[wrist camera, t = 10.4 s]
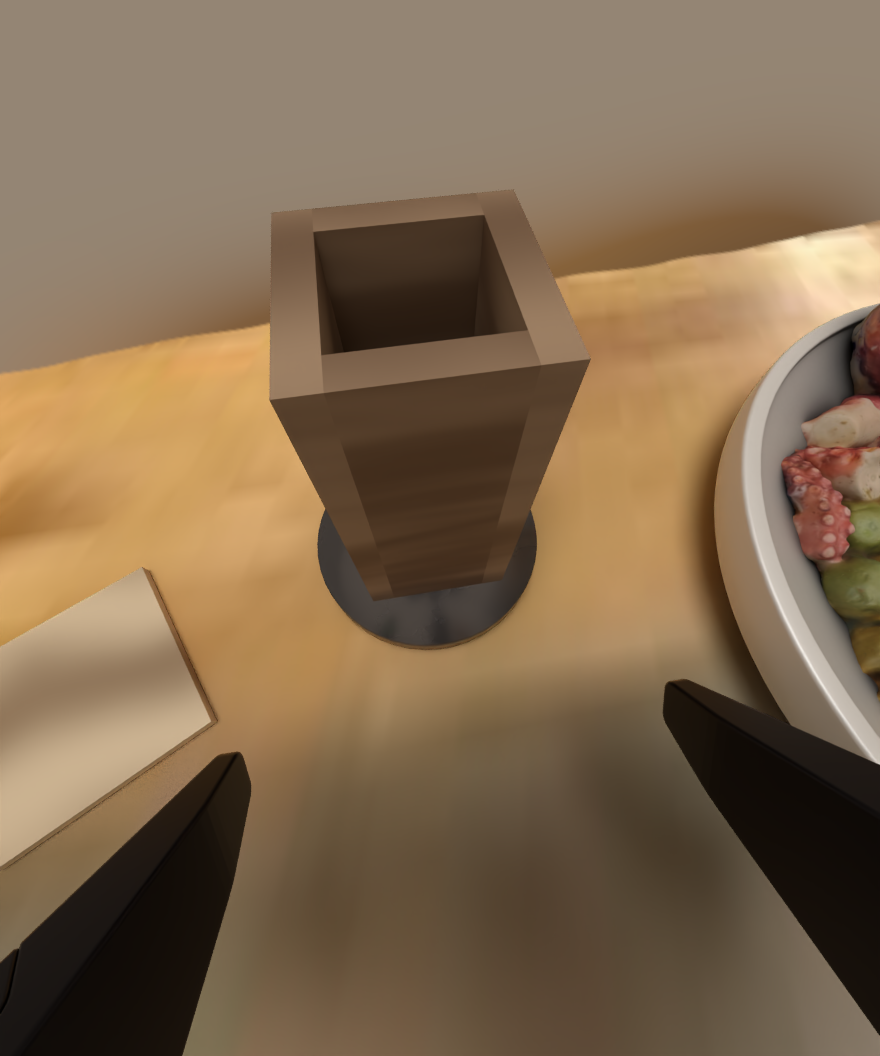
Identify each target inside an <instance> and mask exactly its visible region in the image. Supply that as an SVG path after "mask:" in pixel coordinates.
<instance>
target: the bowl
mask: <svg viewBox="0 0 880 1056" xmlns="http://www.w3.org/2000/svg"><path fill="white" fill-rule="evenodd" d="M714 521H715V535H716V545H717V552H718V558H719V563H720V569H721V573H722V577H723V581H724V585H725V589H726V592H727V595H728V598H729V601H730V605H731V608H732V611H733V613H734V616H735V619H736V621H737V624H738V626H739V629H740V632H741V634H742V636H743V639H744V641H745V643H746V645H747V647H748V650H749V652H750V654H751V656H752V658H753V660H754V662H755V664H756V666H757V668H758V670H759V672H760V674H761V676H762V678H763V680H764V682H765V683H766V685H767V687H768V689H769V690H770V692H771V694H772V696H773V697H774V699H775V701H776V702H777V704H778V706H779V708H780V709H781V711H782V712H783V714H784V715H785V717H786V718H787V720H788V721H789V723H790V725H791V726H794V727H796V728H798V729H800V730H803V731H805V732H807V733H809V734H812V735H814V736H816V737H818V738H821V739H823V740H825V741H827V742H830V743H832V744H834V745H837V746H839V747H841V748H843V749H846V750H848V751H850V752H852V753H855V754H857V755H859V756H861V757H864V758H866V759H868V760H870V761H873V762H875V763H877V764H879V765H880V304H876V305H872V306H868V307H865V308H861V309H858V310H855V311H852V312H849V313H847V314H844V315H842V316H839V317H837V318H835V319H832V320H830V321H829V322H827V323H825V324H823V325H821V326H819V327H817V328H816V329H814V330H813V331H811V332H809V333H808V334H806V335H805V336H804V337H802V338H801V339H800V340H798V341H797V342H796V343H794V344H793V345H792V346H791V347H790V348H789V349H788V350H787V351H786V352H785V353H784V354H783V355H782V356H781V357H780V358H779V359H778V360H777V361H776V362H775V363H774V365H773V366H772V367H771V368H770V369H769V370H768V371H767V372H766V374H765V375H764V376H763V377H762V378H761V379H760V381H759V382H758V383H757V384H756V386H755V387H754V389H753V390H752V391H751V393H750V394H749V395H748V397H747V399H746V400H745V402H744V403H743V405H742V407H741V409H740V410H739V412H738V414H737V416H736V418H735V420H734V422H733V424H732V427H731V429H730V431H729V433H728V436H727V439H726V442H725V445H724V448H723V451H722V454H721V459H720V463H719V467H718V473H717V480H716V487H715V500H714Z"/></svg>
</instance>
